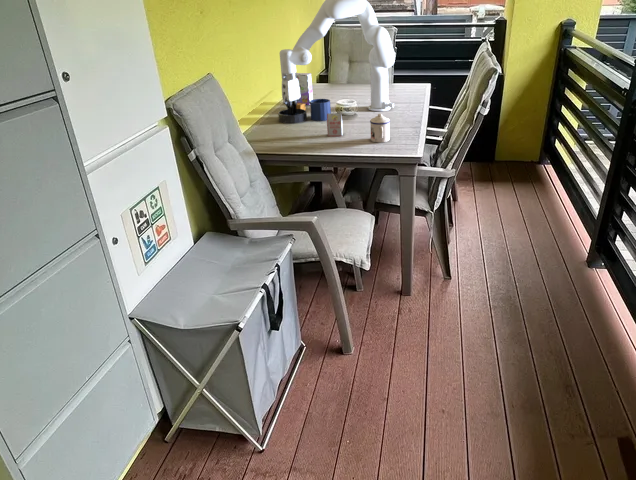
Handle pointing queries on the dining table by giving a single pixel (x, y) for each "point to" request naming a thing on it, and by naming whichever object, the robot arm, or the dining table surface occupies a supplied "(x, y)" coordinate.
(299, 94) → the robot arm
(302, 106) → the block
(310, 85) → the candy box
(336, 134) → the white printed carton
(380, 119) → the teacup with lid
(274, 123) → the dining table surface
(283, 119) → the pan
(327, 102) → the pot
